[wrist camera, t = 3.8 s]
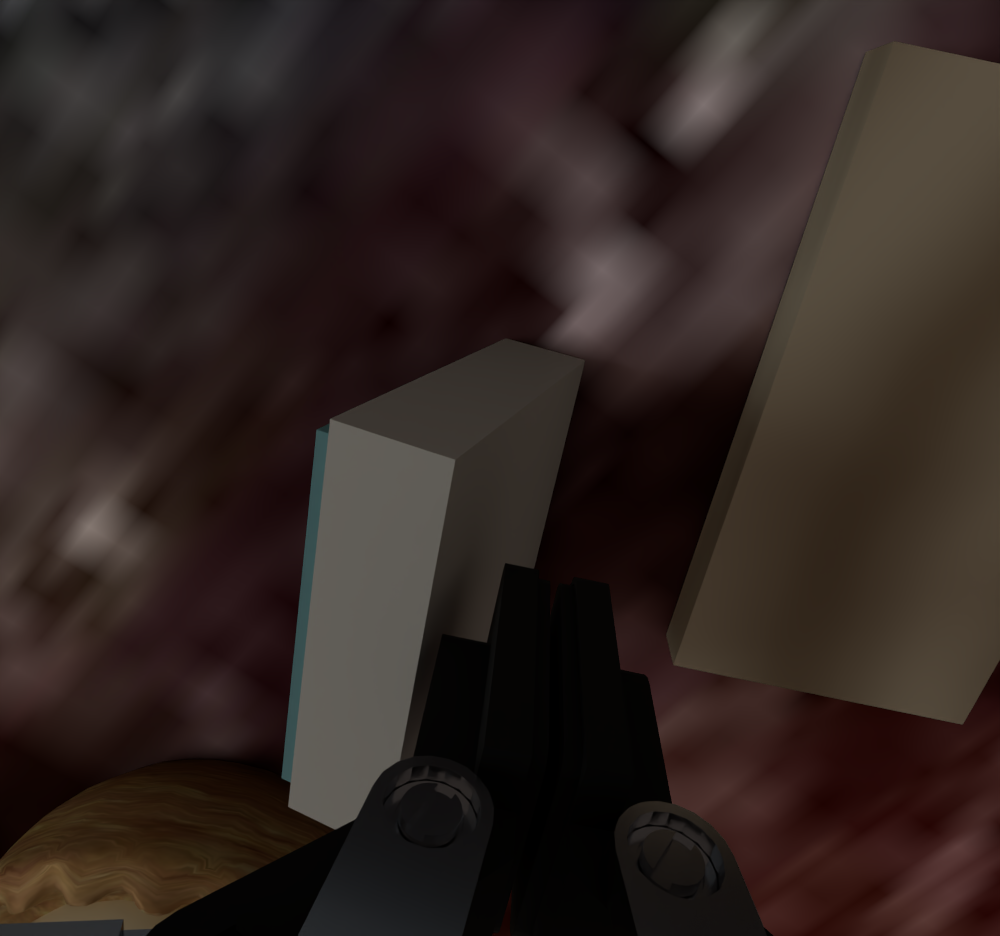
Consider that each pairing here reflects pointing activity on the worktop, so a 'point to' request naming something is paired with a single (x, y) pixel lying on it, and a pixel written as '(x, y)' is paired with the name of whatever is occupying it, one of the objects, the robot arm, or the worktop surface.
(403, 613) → the tile
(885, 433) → the board
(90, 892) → the pastry
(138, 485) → the worktop surface
